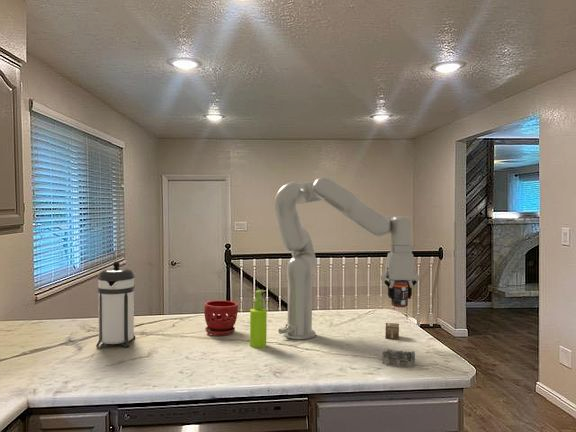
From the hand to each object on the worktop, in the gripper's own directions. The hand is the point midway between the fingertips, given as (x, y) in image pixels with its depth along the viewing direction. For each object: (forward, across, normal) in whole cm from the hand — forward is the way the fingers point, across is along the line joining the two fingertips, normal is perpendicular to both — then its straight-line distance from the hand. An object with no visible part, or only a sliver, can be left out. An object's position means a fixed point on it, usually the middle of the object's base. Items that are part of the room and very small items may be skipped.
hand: (399, 297), depth 171 cm
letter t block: (+17, -1, -8) cm, 19 cm away
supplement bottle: (+3, 0, 0) cm, 3 cm away
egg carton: (+18, +8, +19) cm, 27 cm away
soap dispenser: (+18, +52, -4) cm, 55 cm away
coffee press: (+18, +103, -13) cm, 106 cm away
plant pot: (+18, +65, -21) cm, 71 cm away
